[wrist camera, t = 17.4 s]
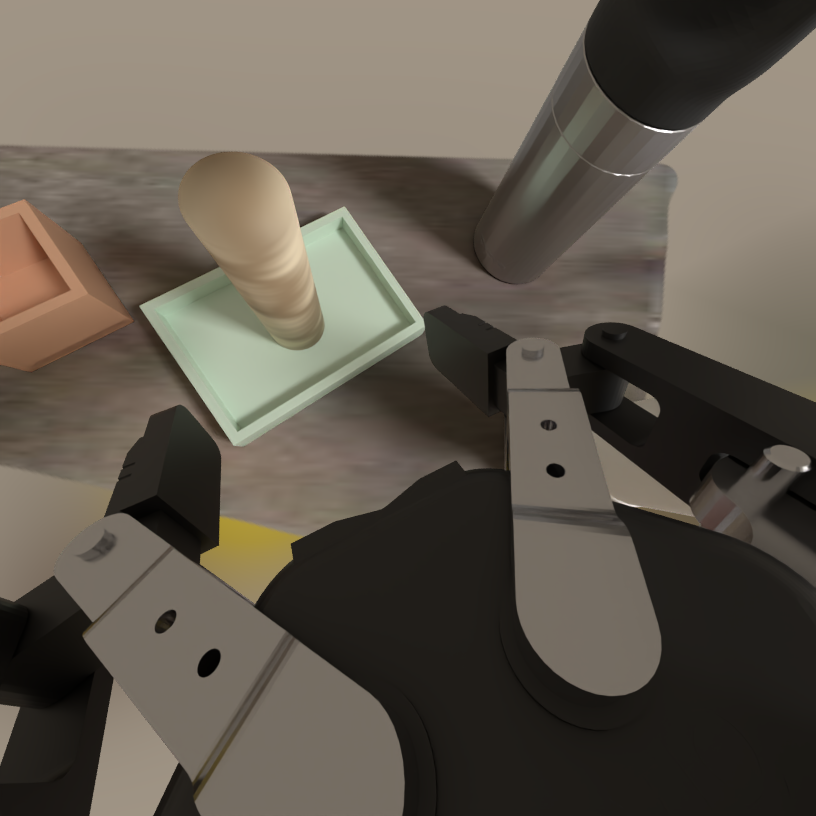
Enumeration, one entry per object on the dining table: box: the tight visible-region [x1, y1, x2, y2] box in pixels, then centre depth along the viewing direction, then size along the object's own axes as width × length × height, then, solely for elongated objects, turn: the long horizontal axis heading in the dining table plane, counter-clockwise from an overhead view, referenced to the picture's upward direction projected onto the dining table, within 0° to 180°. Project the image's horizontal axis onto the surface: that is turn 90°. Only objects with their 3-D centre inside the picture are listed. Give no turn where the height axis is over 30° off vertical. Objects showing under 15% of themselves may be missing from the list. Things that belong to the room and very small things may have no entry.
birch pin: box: [178, 152, 325, 350], centre depth 22 cm, size 5×5×15 cm
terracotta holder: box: [0, 199, 134, 372], centre depth 25 cm, size 9×9×5 cm
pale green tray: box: [139, 206, 425, 446], centre depth 29 cm, size 20×14×2 cm
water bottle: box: [592, 398, 694, 516], centre depth 21 cm, size 7×7×25 cm
